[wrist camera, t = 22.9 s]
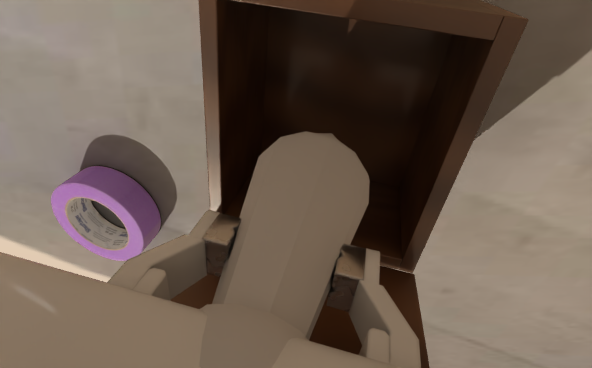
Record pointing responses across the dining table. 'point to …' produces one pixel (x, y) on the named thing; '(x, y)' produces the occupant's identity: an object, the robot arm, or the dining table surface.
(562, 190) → the dining table surface
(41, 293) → the robot arm
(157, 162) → the dining table surface
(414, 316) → the lid
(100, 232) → the tape roll
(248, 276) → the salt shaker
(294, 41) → the chest
